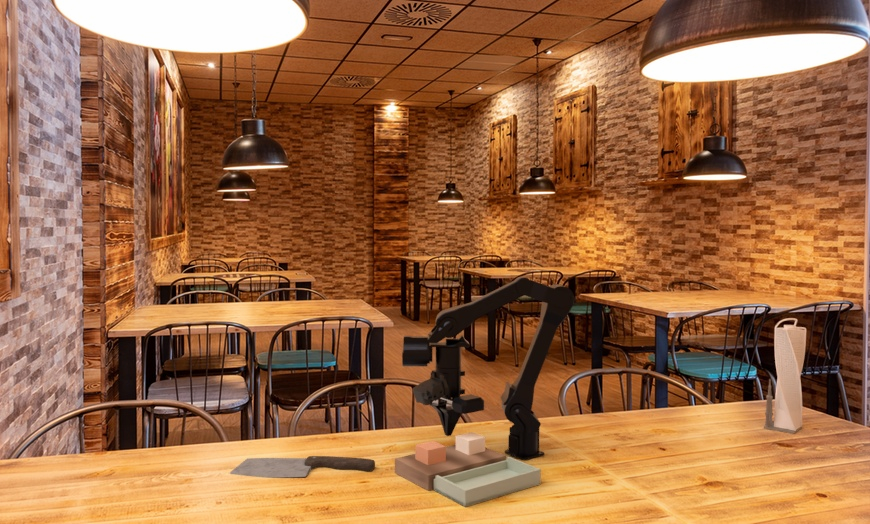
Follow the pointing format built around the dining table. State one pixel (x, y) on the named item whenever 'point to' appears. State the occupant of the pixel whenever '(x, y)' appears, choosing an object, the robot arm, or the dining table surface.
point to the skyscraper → (787, 379)
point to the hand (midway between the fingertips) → (448, 435)
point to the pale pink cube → (470, 443)
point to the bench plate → (443, 465)
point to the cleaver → (299, 466)
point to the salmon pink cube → (430, 452)
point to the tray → (487, 481)
